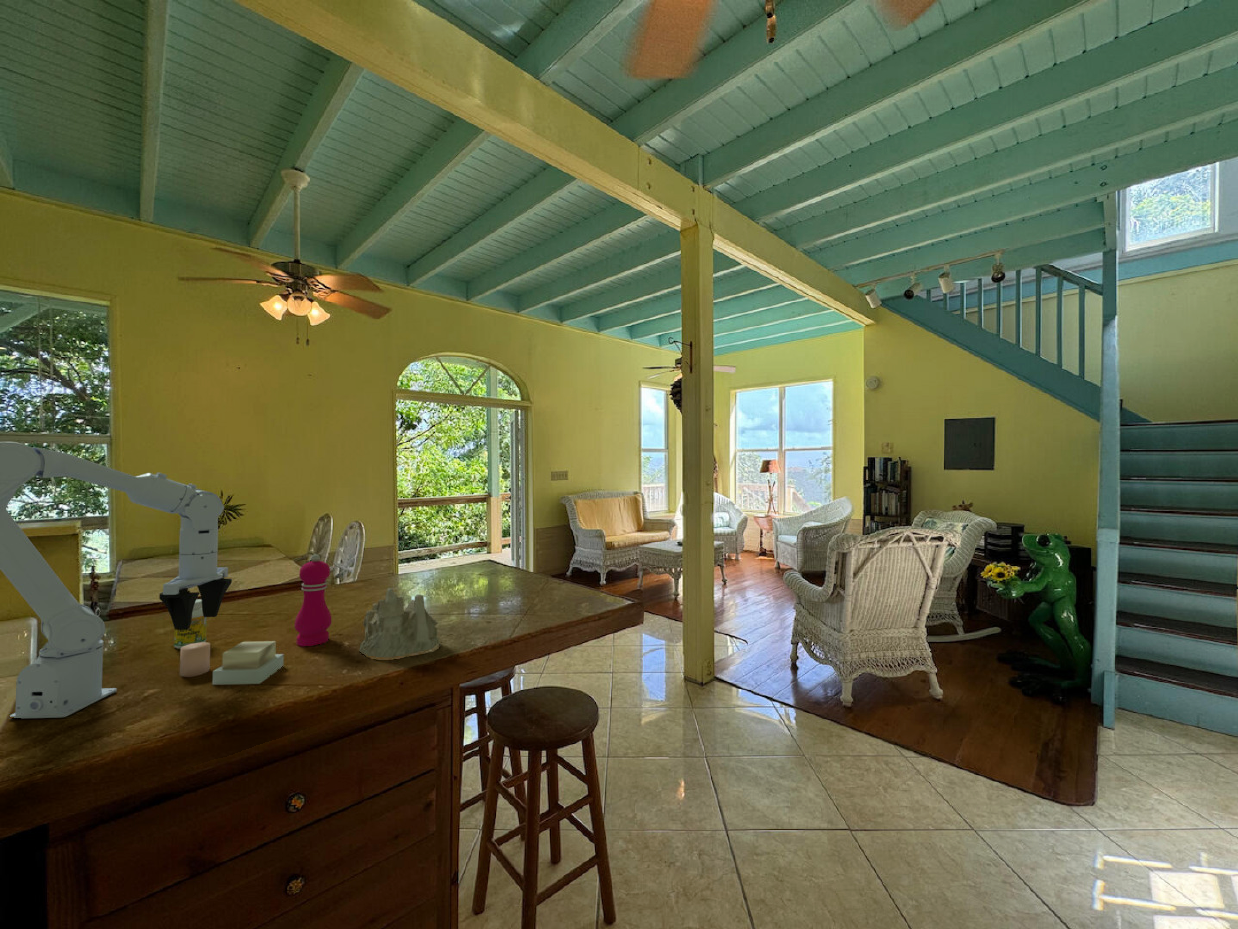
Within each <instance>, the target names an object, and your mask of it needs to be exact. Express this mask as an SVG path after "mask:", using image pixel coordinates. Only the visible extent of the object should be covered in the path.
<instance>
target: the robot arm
mask: <svg viewBox="0 0 1238 929" xmlns="http://www.w3.org/2000/svg"><path fill="white" fill-rule="evenodd" d="M34 476H36V477H38V478H41V479H46V478H48V479H49V478H61V477H62V478H63V477H64V478H65V477H68V478H71V479H74V480H78V481H82V482H86V483H89V484H94V485H97V486H101V487H105V488H108V489H112V490H116V491H119V492H122V493H123V492H124V493H125V494H126V495H127V497H128V500H129V501H130V502H131V503H132V504H136V505H140V506H143V507H147V508H151V509H154V510H157V511H161V512H164V513H169V514H173V515H174V514H178V515H179V516H180V529H179V541H178V542H179V545H178V546H179V550H178V552H179V553H178V575H177V576H176V577H175V578H173V579H171V580H170V581H169V582H166V583H163V584H162V587H163V588H162V592H159V596H158V597H159V600H160V601H161V602H162V603H163V604H164V606H165V608H166V609H167V612H168V613H169V615H170V618H171V621H172V625H173V628H175V630H187V629H189V628H190V625H191V620H192V612H193V608H194V604H195V602H196V599H198V597H199V596H200V599H201V600H202V607H201V608H202V612H203V616H204V617H206V618H215V617H217V616H218V615H219V614H218V613H219V611H220V608H221V604H222V603H223V599H224V596H225V594H226V593H227V591H228V589H229V587H230V586H231V584H232V581H233V580H232V578H229V577H228V575H229V567H227V566H226V567H225V566H223V567H222V566H221V567H219V566H218V550H219V549H218V548H219V547H218V546H219V526H218V525H219V523H218V522H219V517H220V516H221V514H222V513H223V511H224V509H225V505H224V504H223V502H222V500H221V498H220V497H219V496H218V495H217V493H214V492H211V491H207V490H202V489H201V488H197V485H196V484H193V483H188V485H187V484H185V483H182V482H178V481H175V480H173V479H170V478H167V477H168V475H167V474H165V473H162V472H156V473H155V474H154V473H151V472H147V473H143V474H140V475H135V476H134V475H132V474H130V473H126V472H123V471H120V470H118V469H114V468H113V467H112V468H111V467H108V466H105V465H102V464H99V463H97V462H93V461H90V460H87V459H85V458H82V457H79V456H75V455H73V454H70V453H68V452H67V453H65V452H62V451H56V450H51V449H48V448H41V447H35V446H34V447H32V446H31V447H30V446H28V445H27V444H24V443H21V442H16V441H0V571H1V572H2V573H3V575H4V576H5V578H7V580H8V581H9V582H10V583H11V584H12V586H13V587H14V588H15V589H16V590H17V592H19V594H20V596H21V597H22V598H23V599H24V600H25V602H26V603H27V604H28V605H29V607H30V608H31V609H32V611H33V612H34V613H35V614H36V615H37V617H38V618H39V619H40V621H41V622H40V631H41V633H42V635H43V636H44V638H46V639H47V640H48V641H47V642H46V643H45V644H44V646H42V648H41V649H39V651H38V653H39V655H38V657H37V658H36V660H35V661H33V662H31V663H30V664H29V665H27V666H25V667H23V669H21V671H20V672H19V674H18V675H17V677H16V683H15V684H16V685H15V686H16V688H15V689H16V690H15V711H14V713H12V714H10V715H9V716H10V717H14V718H21V719H47V718H48V719H50V718H51V719H53V718H65V717H68V716H70V715H72V714H74V713H77V712H78V711H80V710H82V709H84V708H86V707H89V706H90V705H91V704H94V703H96V702H98V701H100V700H102V699H104V698H105V697H108V696H110V695H112V694H114V693H116V692H117V690H118V689H117V688H116V687H112V688H111V687H110V688H109V687H108V688H105V687H104V688H103V666H104V664H103V661H104V660H103V658H104V640H103V639H102V638H103V637H104V635H105V632H106V625H105V622H104V620H103V619H102V618H101V617H100V616H98V615H96V614H95V612H94V611H93V609H92V608H90V607H89V606H87V605H85V604H81V603H79V602H78V601H77V599H76V598H75V597H74V595H73V594H72V593H71V592H70V590H69V589H68V588H67V587H66V586H65V584H64V583H63V582H62V580H61V578H60V577H59V576H58V575H57V574H56V573H55V571H54V570H53V569H52V567H51V566H50V564H48V562H47V561H46V559H44V557H43V556H42V554H41V553H40V552H39V550H38V549H37V548H36V547H35V545H34V544H33V543H32V541H31V540H30V539H29V537H28V536H27V535H26V533H25V532H24V531H23V530H22V528H21V527H20V526H19V525H18V523H17V521H16V520H15V519H14V517H12V515H11V514H10V513H9V511H8V510H7V506H8V505H9V503H11V500H12V499H13V497H14V495H15V494H16V493H17V490H18V489H19V488H20V487H22V486H23V485H24V484H26V483H27V482H28V481H30V480H31V479H32V478H34ZM227 577H228V578H227ZM195 587H197V589H198V591H197V592H193V591H192V592H191V591H190V590H189V589H192V588H195Z"/></svg>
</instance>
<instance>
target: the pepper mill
mask: <svg viewBox="0 0 1238 929" xmlns="http://www.w3.org/2000/svg"><path fill="white" fill-rule="evenodd" d="M320 559H321V557H320V555H319V554H313V555H311V556H310V561H308V562H306V563H304V564H303V565H302V566H301V567H300V569H299V573H298V574H299V578H300V580H301V581H302V582H303V583H301V590H302V591H303V602H302V605H301V607H300V609H299V611H298V613H297V616H296V617H295V621H294V629H295V630H296V632H298V633H299V634H298V635H297V636H296V645H297V646H298V645H299V647H305V646H308V647H314V646H313V645H316V646H318V645H317V644H320V645H323V644H325V643H327V642H328V641H329V640H330V639H329V636H330V632H329V631H328V629H329V627H330V626H331V625H332V614H331V611H330V609H329V608H328V606H327V604H326V600H325V592H326V591H325V590H326V589H327V588H328V586H327V584H328V581H326V580H328V578H329V577H330V574H331V569H330V566H329V565H328V563H326V562H325V561H322V560H320ZM328 639H329V640H328ZM326 641H327V642H326ZM322 643H323V644H322Z"/></svg>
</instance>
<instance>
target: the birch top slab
mask: <svg viewBox="0 0 1238 929" xmlns="http://www.w3.org/2000/svg"><path fill="white" fill-rule="evenodd" d="M276 645H277V641H275V640H272V641H270V640H264V641H260V640H259V641H256V640H255V641H242V642H240V643H238V644H236V645H234V646H233V647H232V648H230V649H227V650H226V651H224V652H222V665H221V666H222V669H257V668H259V667H260V666H262V665H263V664H265V663H266V662H268V661H269V660H271V659H272V658H274V657H275V655H276V654H277V652H276V651H277V650H276V648H277V647H276Z"/></svg>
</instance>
